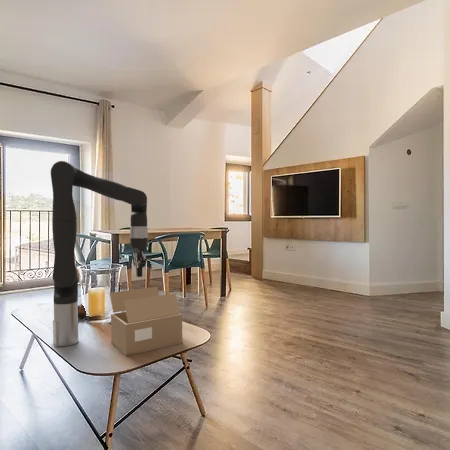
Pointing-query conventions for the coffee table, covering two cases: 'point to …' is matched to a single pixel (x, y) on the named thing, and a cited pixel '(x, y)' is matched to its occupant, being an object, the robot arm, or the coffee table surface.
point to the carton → (145, 333)
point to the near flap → (151, 307)
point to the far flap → (130, 297)
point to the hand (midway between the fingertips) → (139, 276)
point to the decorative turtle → (81, 312)
